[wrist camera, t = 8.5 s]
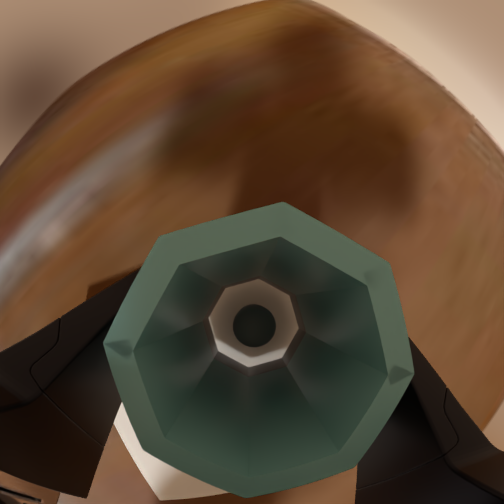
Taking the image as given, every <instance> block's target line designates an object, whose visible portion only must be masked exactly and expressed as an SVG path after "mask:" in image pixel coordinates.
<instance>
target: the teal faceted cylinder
mask: <svg viewBox="0 0 504 504" xmlns="http://www.w3.org/2000/svg"><path fill="white" fill-rule="evenodd" d="M257 279H260V280H262V281H264V282H266V283H267V284H269V285H271V286H273V287H275V288H277V289H278V290H280V291H282V292H284V293H286V294H287V295H289V296H290V300H291V303H292V307H293V310H294V314H295V317H296V321H297V324H298V330H297V332H296V334H295V336H294V337H293V339H292V341H291V343H290V344H289V346H288V348H287V350H286V351H285V353H284V355H283V357H282V358H279V359H276V360H273V361H269V362H266V363H262V364H259V365H255V366H251V367H247V366H245V365H243V364H241V363H240V362H238V361H236V360H234V359H232V358H230V357H228V356H227V355H225V354H223V353H221V352H219V351H218V349H217V345H216V342H215V339H214V335H213V332H212V328H211V325H210V321H209V316H210V315H211V313H212V311H213V309H214V308H215V306H216V304H217V302H218V300H219V299H220V297H221V295H222V293H223V292H224V290H225V288H228V287H232V286H235V285H239V284H242V283H246V282H250V281H253V280H257ZM103 343H104V344H103V345H104V348H105V352H106V355H107V359H108V362H109V365H110V368H111V372H112V375H113V378H114V381H115V384H116V386H117V389H118V392H119V395H120V398H121V400H122V403H123V406H124V408H125V411H126V413H127V416H128V418H129V420H130V423H131V425H132V428H133V430H134V432H135V434H136V437H137V439H138V441H139V443H140V445H141V447H142V450H144V451H145V452H147V453H149V454H150V455H152V456H154V457H155V458H157V459H159V460H161V461H163V462H164V463H166V464H168V465H170V466H172V467H174V468H176V469H178V470H180V471H182V472H184V473H186V474H188V475H190V476H192V477H194V478H196V479H198V480H201V481H203V482H205V483H207V484H210V485H212V486H214V487H217V488H219V489H222V490H224V491H227V492H230V493H232V494H235V495H238V496H241V497H243V498H250V497H255V496H260V495H265V494H270V493H275V492H279V491H283V490H287V489H291V488H295V487H298V486H302V485H305V484H309V483H312V482H315V481H318V480H321V479H324V478H327V477H330V476H333V475H336V474H338V473H341V472H344V471H346V470H349V469H351V468H354V467H355V466H356V465H357V463H358V462H359V461H360V460H361V458H362V457H363V456H364V454H365V453H366V452H367V450H368V449H369V447H370V446H371V445H372V443H373V442H374V440H375V439H376V437H377V436H378V434H379V433H380V432H381V430H382V428H383V427H384V425H385V424H386V422H387V421H388V419H389V418H390V416H391V414H392V413H393V411H394V409H395V408H396V406H397V404H398V403H399V401H400V399H401V397H402V396H403V394H404V392H405V390H406V389H407V387H408V385H409V383H410V381H411V379H412V377H413V375H414V367H413V361H412V355H411V350H410V344H409V339H408V334H407V329H406V325H405V320H404V316H403V311H402V307H401V303H400V299H399V295H398V291H397V287H396V284H395V280H394V276H393V273H392V269H391V266H390V264H389V262H387V261H385V260H384V259H382V258H381V257H379V256H377V255H376V254H374V253H373V252H371V251H369V250H368V249H366V248H364V247H363V246H361V245H359V244H358V243H356V242H354V241H353V240H351V239H349V238H348V237H346V236H344V235H342V234H341V233H339V232H337V231H336V230H334V229H332V228H330V227H329V226H327V225H325V224H323V223H322V222H320V221H318V220H316V219H314V218H313V217H311V216H309V215H307V214H305V213H304V212H302V211H300V210H298V209H296V208H295V207H293V206H291V205H289V204H287V203H285V202H284V203H283V202H280V203H276V204H272V205H268V206H264V207H260V208H257V209H253V210H249V211H245V212H242V213H238V214H234V215H230V216H227V217H223V218H220V219H216V220H212V221H209V222H205V223H202V224H198V225H195V226H191V227H188V228H185V229H181V230H178V231H174V232H171V233H168V234H165V235H161V236H160V237H158V239H157V241H156V243H155V244H154V246H153V248H152V249H151V251H150V253H149V255H148V256H147V258H146V260H145V262H144V264H143V265H142V267H141V269H140V271H139V273H138V274H137V276H136V278H135V280H134V282H133V284H132V286H131V287H130V289H129V291H128V293H127V295H126V297H125V299H124V301H123V303H122V305H121V307H120V309H119V311H118V313H117V315H116V317H115V319H114V321H113V323H112V325H111V327H110V329H109V331H108V333H107V336H106V338H105V340H104V342H103Z"/></svg>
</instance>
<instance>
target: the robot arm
mask: <svg viewBox="0 0 504 504" xmlns="http://www.w3.org/2000/svg"><path fill="white" fill-rule="evenodd" d="M140 269H141V268H139V269H138V270H136V271H134V272H133V273H131V274H129V275H128V276H126V277H124V278H122V279H121V280H119V281H117V282H116V283H114V284H113V285H111V286H109V287H108V288H106V289H104V290H103V291H101V292H99V293H98V294H96V295H95V296H93V297H91V298H90V299H88V300H86V301H85V302H83V303H82V304H80V305H78V306H77V307H75V308H74V309H72V310H71V311H69V312H67V313H66V314H64V315H63V316H61V318H58V319H56V320H55V321H53V322H52V323H50V324H49V325H47V326H45V327H44V328H42V329H41V330H39V331H37V332H36V333H34V334H32V335H31V336H29V337H27V338H25V339H23V340H22V341H20V342H18V343H16V344H14V345H13V346H11V347H9V348H7V349H5V350H3V351H2V352H0V504H57V502H58V499H59V495H60V492H61V493H65V494H69V495H73V496H77V497H81V498H87V496H88V493H89V490H90V487H91V484H92V481H93V478H94V475H95V472H96V469H97V466H98V464H99V461H100V458H101V455H102V452H103V450H104V446H105V444H106V441H107V438H108V436H109V433H110V431H111V428H112V425H113V423H114V420H115V418H116V415H117V413H118V410H119V408H120V405H121V403H122V400H121V398H120V395H119V392H118V389H117V386H116V384H115V381H114V378H113V375H112V372H111V368H110V365H109V362H108V359H107V355H106V352H105V348H104V345H103V344H104V343H103V342H104V340H105V338H106V336H107V333H108V331H109V329H110V327H111V325H112V323H113V321H114V319H115V317H116V315H117V313H118V311H119V309H120V307H121V305H122V303H123V301H124V299H125V297H126V295H127V293H128V291H129V289H130V287H131V286H132V284H133V282H134V280H135V278H136V276H137V274H138V273H139V271H140ZM408 339H409V344H410V350H411V355H412V361H413V367H414V375H413V377H412V379H411V381H410V383H409V385H408V387H407V389H406V390H405V392H404V394H403V396H402V397H401V399H400V401H399V403H398V404H397V406H396V408H395V409H394V411H393V413H392V414H391V416H390V418H389V419H388V421H387V422H386V424H385V425H384V427H383V428H382V430H381V432H380V433H379V434H378V436H377V437H376V439H375V440H374V442H373V443H372V445H371V446H370V447H369V449H368V450H367V452H366V453H365V454H364V456H363V457H362V458H361V460H360V461H359V462H358V464H357V483H356V489H357V490H356V495H355V504H504V452H503V451H501V450H499V449H497V448H496V447H494V446H493V445H492V444H491V443H490V441H489V440H488V439H487V438H486V437H485V435H484V434H483V433H482V431H481V430H480V429H479V428H478V426H477V425H476V424H475V423H474V421H473V420H472V419H471V418H470V417H469V415H468V414H467V413H466V411H465V410H464V409H463V408H462V406H461V405H460V404H459V402H458V401H457V400H456V398H455V397H454V396H453V394H452V393H451V391H450V390H449V389H448V388H446V385H445V383H444V382H443V381H442V379H441V378H440V377H439V375H438V374H437V373H436V371H435V370H434V369H433V367H432V366H431V365H430V363H429V362H428V361H427V359H426V358H425V357H424V356H423V354H422V353H421V352H420V350H419V349H418V348H417V347H416V345H415V344H414V343H413V342H412V340H411V339H410V338H409V337H408Z"/></svg>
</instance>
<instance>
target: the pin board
mask: <svg viewBox="0 0 504 504" xmlns="http://www.w3.org/2000/svg"><path fill="white" fill-rule="evenodd" d="M209 321H210V325H211V328H212V332H213V335H214V339H215V342H216V345H217V349H218V351H219V352H221V353H223V354H225V355H227V356H228V357H230V358H232V359H234V360H236V361H238V362H240V363H241V364H243V365H245V366H247V367H251V366H255V365H259V364H262V363H266V362H269V361H273V360H276V359H279V358H282V357H283V355H284V353H285V351H286V350H287V348H288V346H289V344H290V343H291V341H292V339H293V337H294V336H295V334H296V332H297V330H298V324H297V321H296V317H295V314H294V310H293V307H292V303H291V300H290V296H289V295H287V294H286V293H284V292H282V291H280V290H278V289H277V288H275V287H273V286H271V285H269V284H267V283H266V282H264V281H262V280H260V279H257V280H253V281H250V282H246V283H242V284H239V285H235V286H232V287H228V288H225V290H224V292H223V293H222V295H221V297H220V299H219V300H218V302H217V304H216V306H215V308H214V309H213V311H212V313H211V315H210V316H209ZM114 425H115V427H116V429H117V431H118V432H119V434H120V436H121V438H122V440H123V442H124V444H125V446H126V447H127V449H128V451H129V453H130V455H131V456H132V458H133V460H134V461H135V463H136V465H137V466H138V468H139V470H140V471H141V473H142V474H143V476H144V478H145V479H146V481H147V482H148V484H149V485H150V487H151V488H152V490H153V491H154V493H155V494H156V495H157V497H158V498H159V500H160V501H162V500H177V499H188V498H197V497H205V496H212V495H218V494H224V493H229V492H227V491H224V490H222V489H219V488H217V487H214V486H212V485H210V484H207V483H205V482H203V481H201V480H198V479H196V478H194V477H192V476H190V475H188V474H186V473H184V472H182V471H180V470H178V469H176V468H174V467H172V466H170V465H168V464H166V463H164V462H163V461H161V460H159V459H157V458H155V457H154V456H152V455H150V454H149V453H147V452H145V451H144V450H142V447H141V445H140V443H139V441H138V439H137V437H136V434H135V432H134V430H133V428H132V425H131V423H130V420H129V418H128V416H127V413H126V411H125V408H124V406H123V403H121V405H120V408H119V410H118V413H117V415H116V418H115V420H114Z"/></svg>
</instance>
